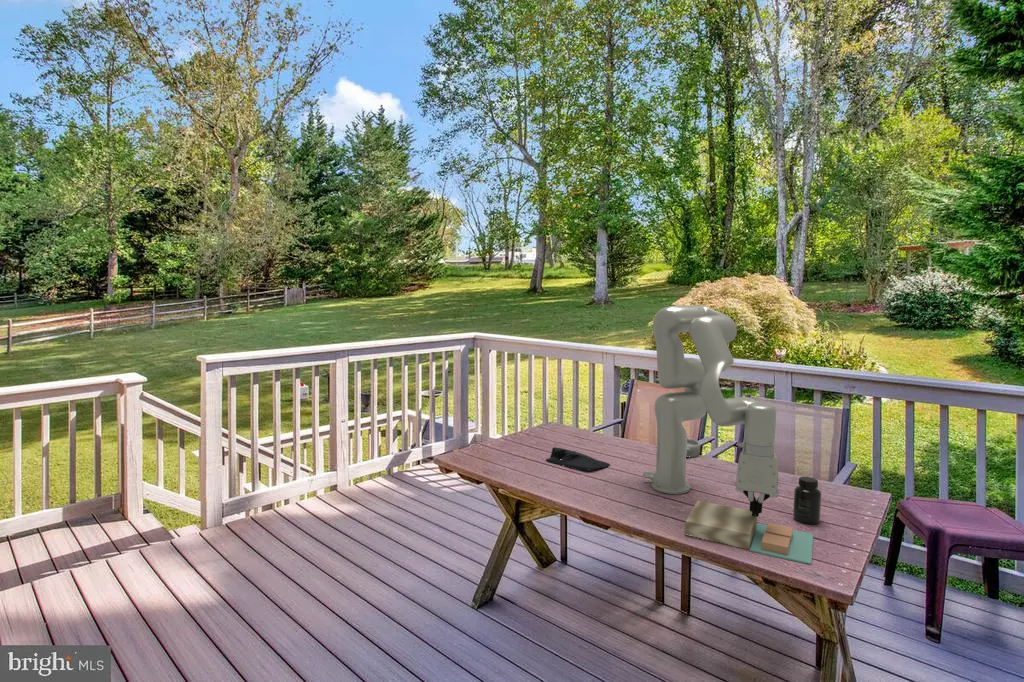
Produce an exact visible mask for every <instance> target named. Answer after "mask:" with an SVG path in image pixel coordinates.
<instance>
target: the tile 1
mask: <svg viewBox="0 0 1024 682" xmlns="http://www.w3.org/2000/svg"><path fill="white" fill-rule="evenodd" d="M767 525H768V526H767V529H766V533H769V534H774V535H779V536H783V537H788V538H790V544H791V540H792V536H793V530H794V527H792V526H787V525H782V524H777V523H773V522H772V523H771V522H768V523H767Z"/></svg>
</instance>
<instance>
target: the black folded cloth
mask: <svg viewBox="0 0 1024 682" xmlns="http://www.w3.org/2000/svg"><path fill="white" fill-rule="evenodd" d="M560 459H562V460H560ZM545 461H546V462H548V461H550V462H549V463H553V464H555V463H556V464H555V465H558V464H560V465H559V466H563V465H564V466H563V467H568V466H569V467H568V468H571V467H573V468H572V469H575V468H576V469H575V470H579V469H581V470H580V471H583V470H585V471H586V472H592V471H594V470H600V468H601V469H606V468H609V467H610V466H611V464H610V463H608V462H605V461H602V460H599V459H596V458H593V457H592V456H589V455H587V454H583V453H581V452H578V451H574V450H569V449H566V448H562V447H556V446H555V447H552V449H551V453H550V456H549V458H547V459H545ZM609 465H610V466H609ZM608 466H609V467H608ZM605 467H606V468H605ZM585 471H584V472H585Z"/></svg>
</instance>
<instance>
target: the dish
mask: <svg viewBox="0 0 1024 682" xmlns="http://www.w3.org/2000/svg"><path fill="white" fill-rule="evenodd" d="M700 453H701V443H700V442H699V441H698V440H696V439H694V438H689V437H687V456H688V458H694V457H698V456H699V455H700ZM689 456H690V457H689Z"/></svg>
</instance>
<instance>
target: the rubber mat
mask: <svg viewBox="0 0 1024 682" xmlns="http://www.w3.org/2000/svg"><path fill="white" fill-rule="evenodd" d="M767 526H768V524H766V523H761V522H757V524H756V528H755V532H754V535H753V539H752V542H751V545H750V549H749V552H752V553H756V554H760V555H765V556H770V557H775V558H779V559H783V560H788V561H793V562H797V563H801V562H802V564H805V563H808V564H807V565H810V564H811V565H812V560H813V559H812V557H813V547H814V546H813V545H814V544H813V542H814V533H810V532H807V531H800V530H796V529H793V536H792V540H791V544H790V546H789V550H788V554H787V555H784V554H780V553H776V552H771V551H767V550H763V549H761V542H762V539H763V536H764V533H766V529H767Z"/></svg>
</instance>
